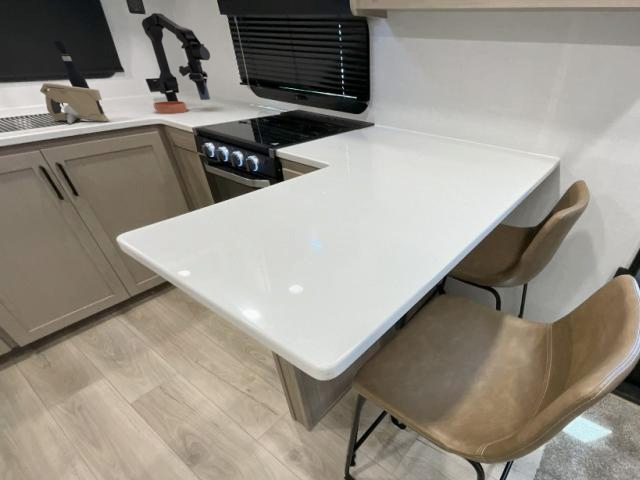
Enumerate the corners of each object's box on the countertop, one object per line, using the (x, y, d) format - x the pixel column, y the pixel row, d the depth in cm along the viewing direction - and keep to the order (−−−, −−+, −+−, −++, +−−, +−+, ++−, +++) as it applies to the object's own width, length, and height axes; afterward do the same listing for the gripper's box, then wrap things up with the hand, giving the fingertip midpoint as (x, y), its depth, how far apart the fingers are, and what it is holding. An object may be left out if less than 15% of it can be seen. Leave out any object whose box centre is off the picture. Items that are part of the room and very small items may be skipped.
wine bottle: (83, 113, 171) (45, 40, 152) (96, 111, 175) (61, 40, 157) (91, 114, 169) (54, 40, 150) (104, 112, 173) (70, 41, 155)
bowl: (160, 109, 185) (157, 101, 182) (190, 109, 188) (187, 100, 186) (152, 114, 173) (149, 105, 171) (184, 113, 177) (181, 104, 174)
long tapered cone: (80, 113, 149) (77, 103, 159) (62, 116, 146) (61, 105, 157) (88, 126, 153) (85, 115, 163) (72, 129, 150) (70, 118, 161)
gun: (51, 120, 153) (33, 82, 144) (57, 119, 155) (39, 81, 146) (107, 126, 155) (93, 89, 146) (112, 125, 158) (98, 89, 149)
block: (201, 98, 186) (196, 82, 181) (210, 98, 187) (205, 82, 182) (200, 99, 183) (195, 82, 178) (209, 99, 184) (204, 82, 179)
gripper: (180, 58, 179) (191, 92, 188) (172, 60, 165) (184, 96, 174) (203, 59, 181) (212, 92, 191) (196, 60, 167) (207, 96, 177)
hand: (204, 94), depth 183 cm, fingers closed on block, 4 cm apart
